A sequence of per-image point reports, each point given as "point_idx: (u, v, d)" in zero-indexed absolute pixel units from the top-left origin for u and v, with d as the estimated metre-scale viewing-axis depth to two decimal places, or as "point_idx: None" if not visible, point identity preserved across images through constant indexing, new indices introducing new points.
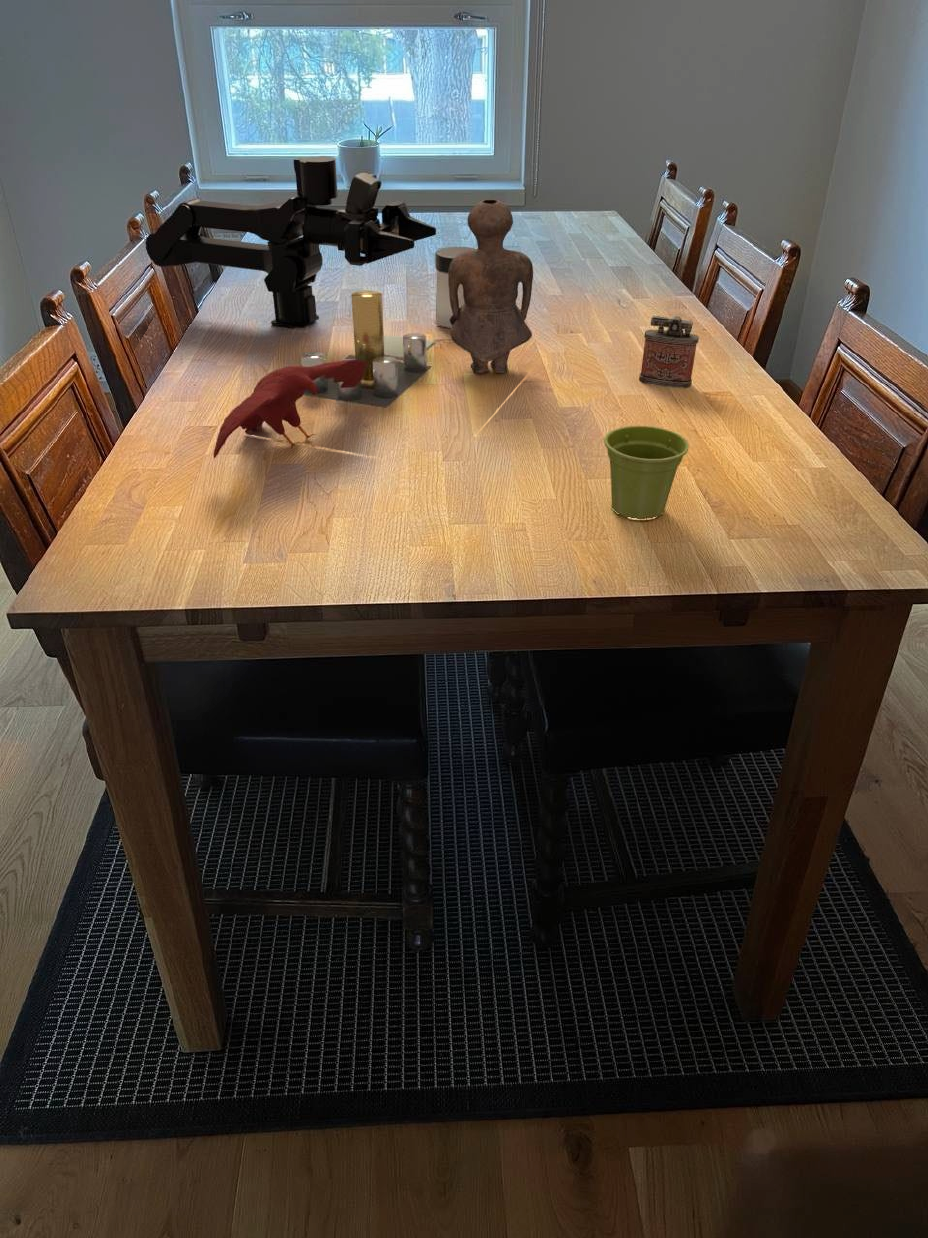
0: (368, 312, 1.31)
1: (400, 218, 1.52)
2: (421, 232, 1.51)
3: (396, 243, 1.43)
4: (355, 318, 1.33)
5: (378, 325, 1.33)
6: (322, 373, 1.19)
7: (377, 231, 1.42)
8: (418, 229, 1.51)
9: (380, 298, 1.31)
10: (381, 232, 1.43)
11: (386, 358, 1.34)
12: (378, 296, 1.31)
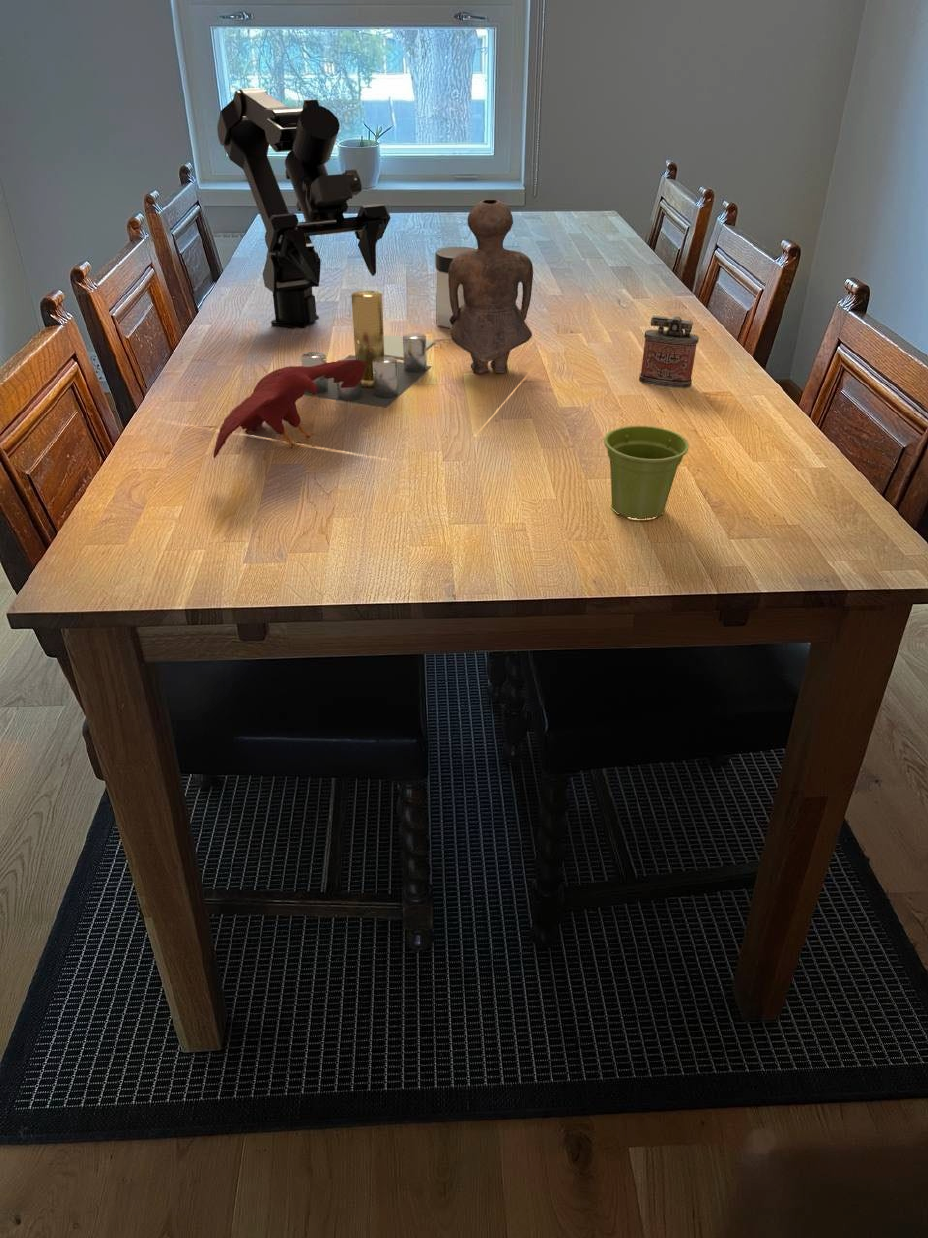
0: (368, 312, 1.31)
1: (365, 230, 1.39)
2: (367, 260, 1.40)
3: (306, 267, 1.36)
4: (355, 318, 1.33)
5: (378, 325, 1.33)
6: (322, 373, 1.19)
7: (297, 243, 1.34)
8: (367, 256, 1.40)
9: (380, 298, 1.31)
10: (301, 246, 1.34)
11: (386, 358, 1.34)
12: (378, 296, 1.31)
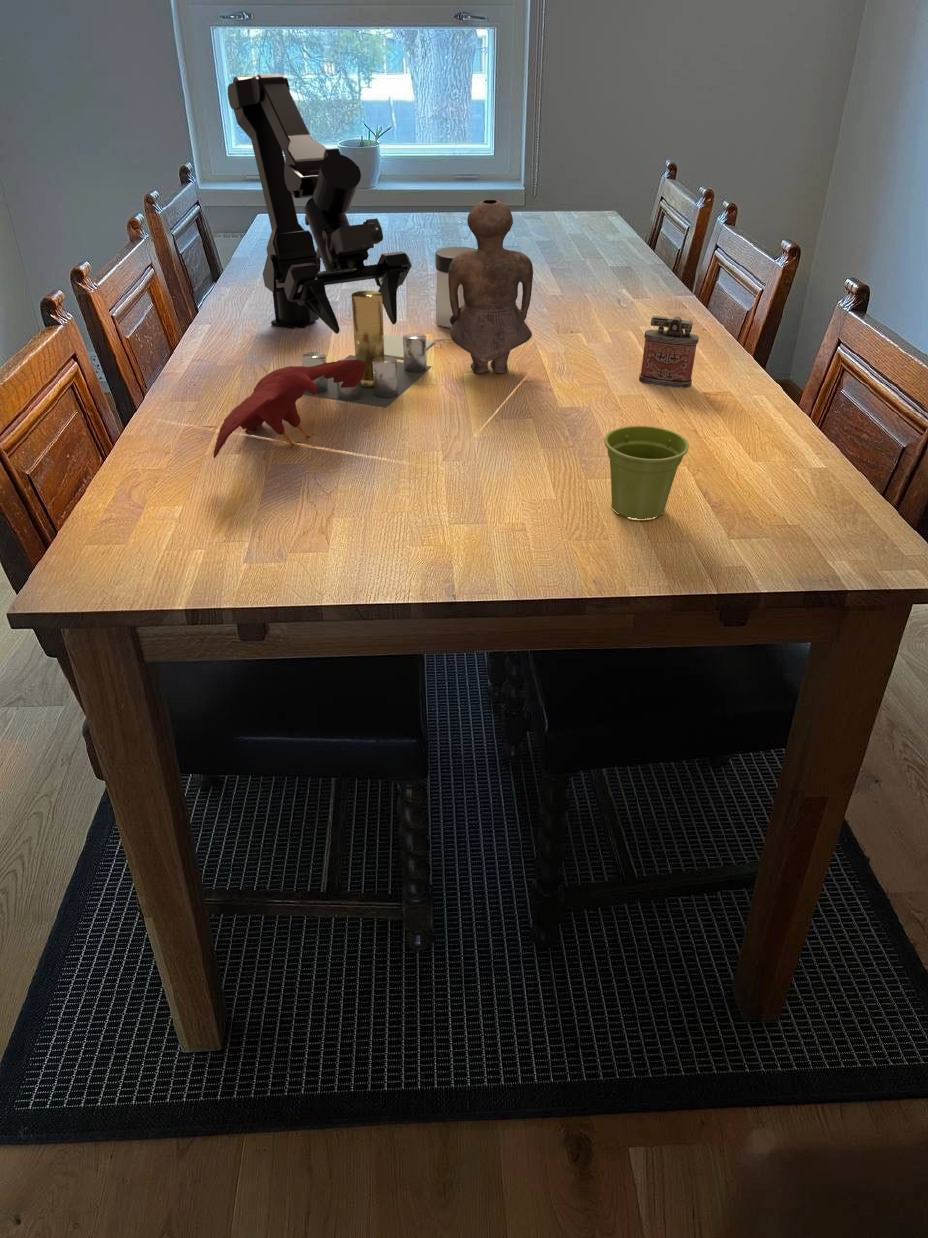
0: (368, 312, 1.31)
1: (385, 278, 1.37)
2: (388, 309, 1.38)
3: (326, 317, 1.33)
4: (355, 318, 1.33)
5: (378, 325, 1.33)
6: (322, 373, 1.19)
7: (317, 293, 1.32)
8: (388, 304, 1.37)
9: (380, 298, 1.32)
10: (321, 296, 1.32)
11: (386, 358, 1.34)
12: (378, 296, 1.31)
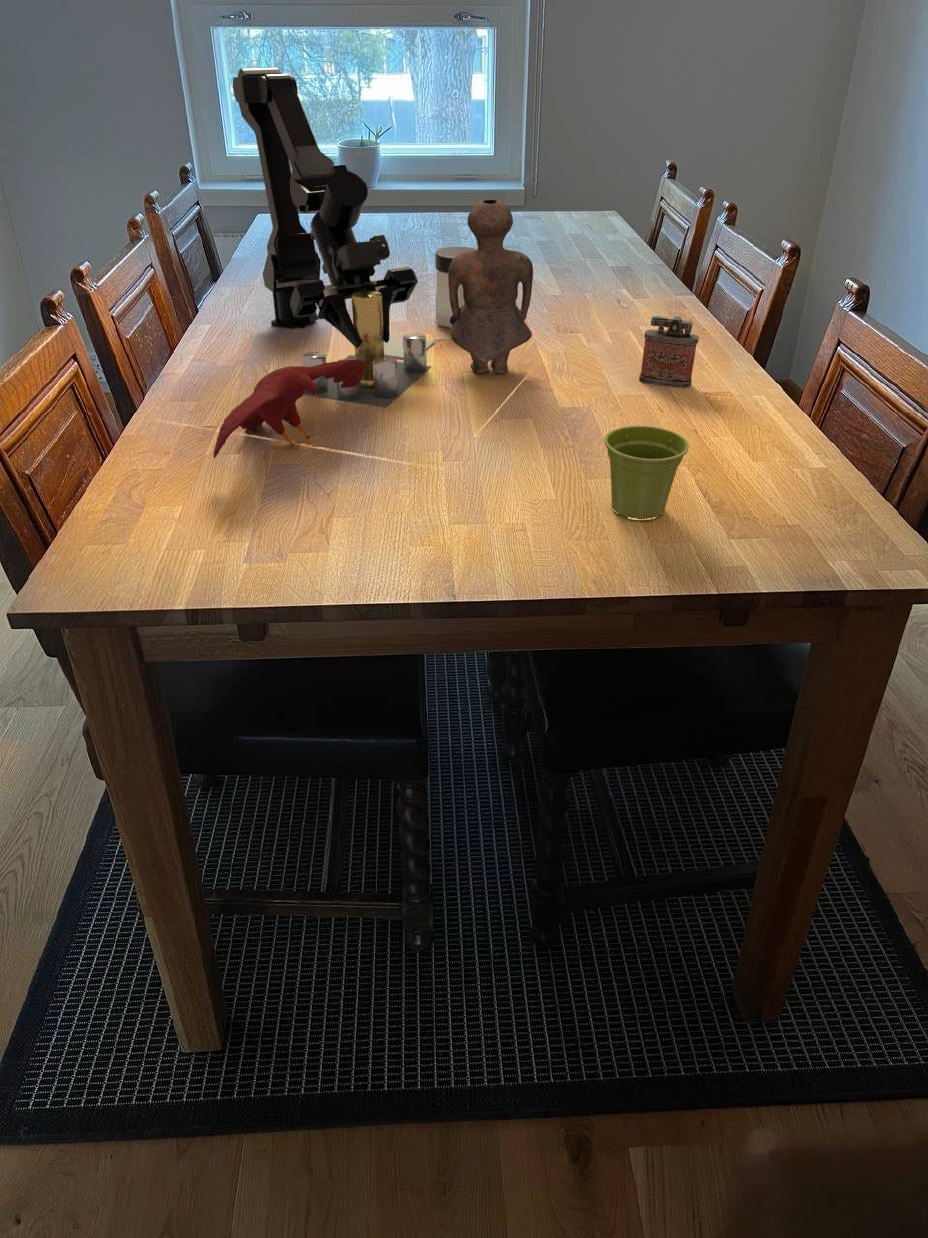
0: (368, 312, 1.31)
1: None
2: None
3: (346, 331, 1.34)
4: (355, 318, 1.33)
5: (378, 325, 1.33)
6: (322, 373, 1.19)
7: (338, 308, 1.32)
8: None
9: (380, 298, 1.31)
10: (342, 311, 1.33)
11: (386, 358, 1.34)
12: (378, 296, 1.31)
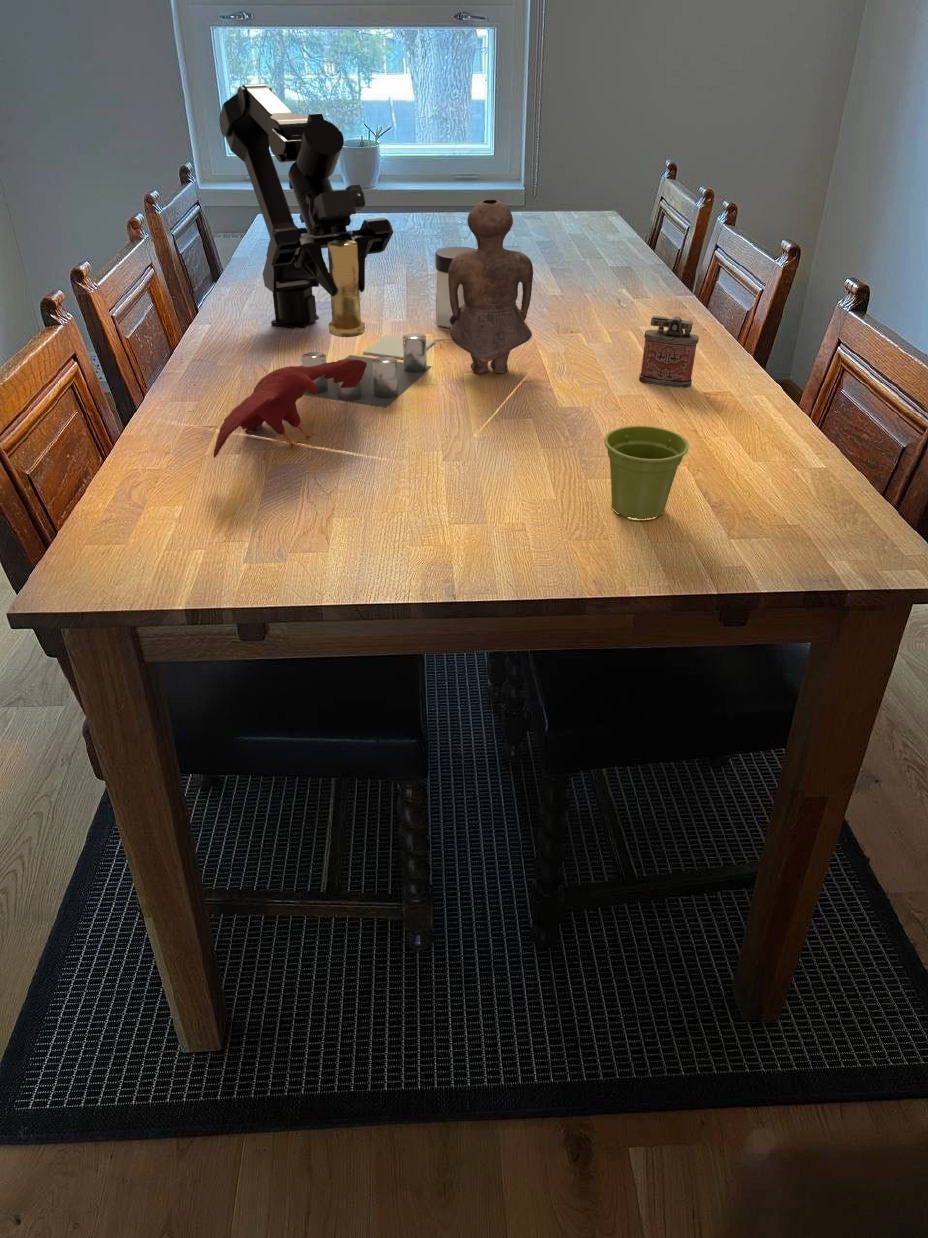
0: (344, 261, 1.34)
1: None
2: None
3: (322, 279, 1.37)
4: (331, 267, 1.35)
5: (353, 274, 1.36)
6: (322, 373, 1.19)
7: (314, 256, 1.35)
8: None
9: (355, 247, 1.34)
10: (318, 259, 1.36)
11: (386, 358, 1.34)
12: (353, 245, 1.34)
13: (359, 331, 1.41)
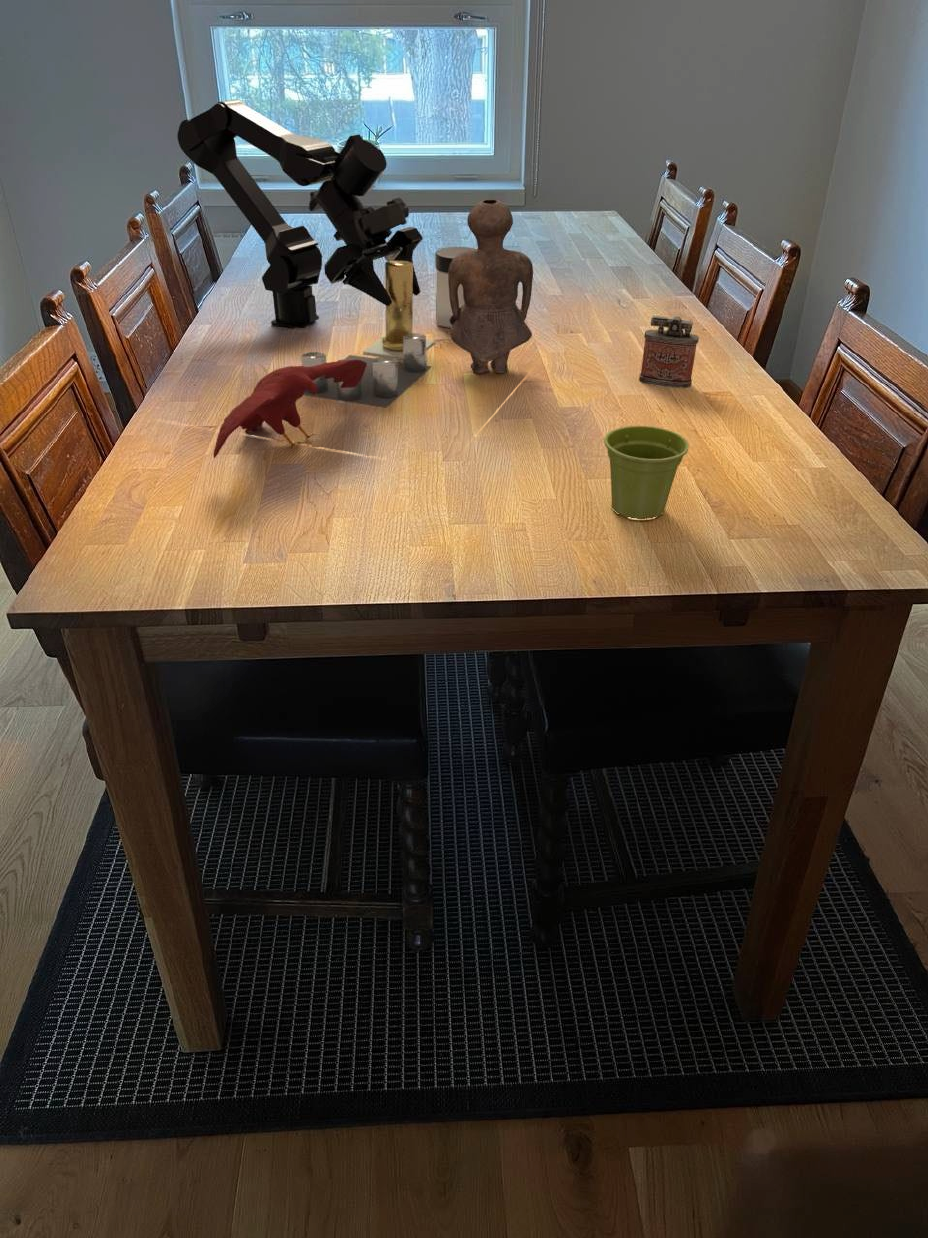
0: (406, 279, 1.44)
1: (401, 254, 1.48)
2: None
3: (376, 291, 1.43)
4: (392, 286, 1.45)
5: (411, 291, 1.46)
6: (322, 373, 1.19)
7: (368, 270, 1.41)
8: None
9: (412, 265, 1.45)
10: (371, 273, 1.42)
11: (386, 358, 1.34)
12: (410, 264, 1.45)
13: None
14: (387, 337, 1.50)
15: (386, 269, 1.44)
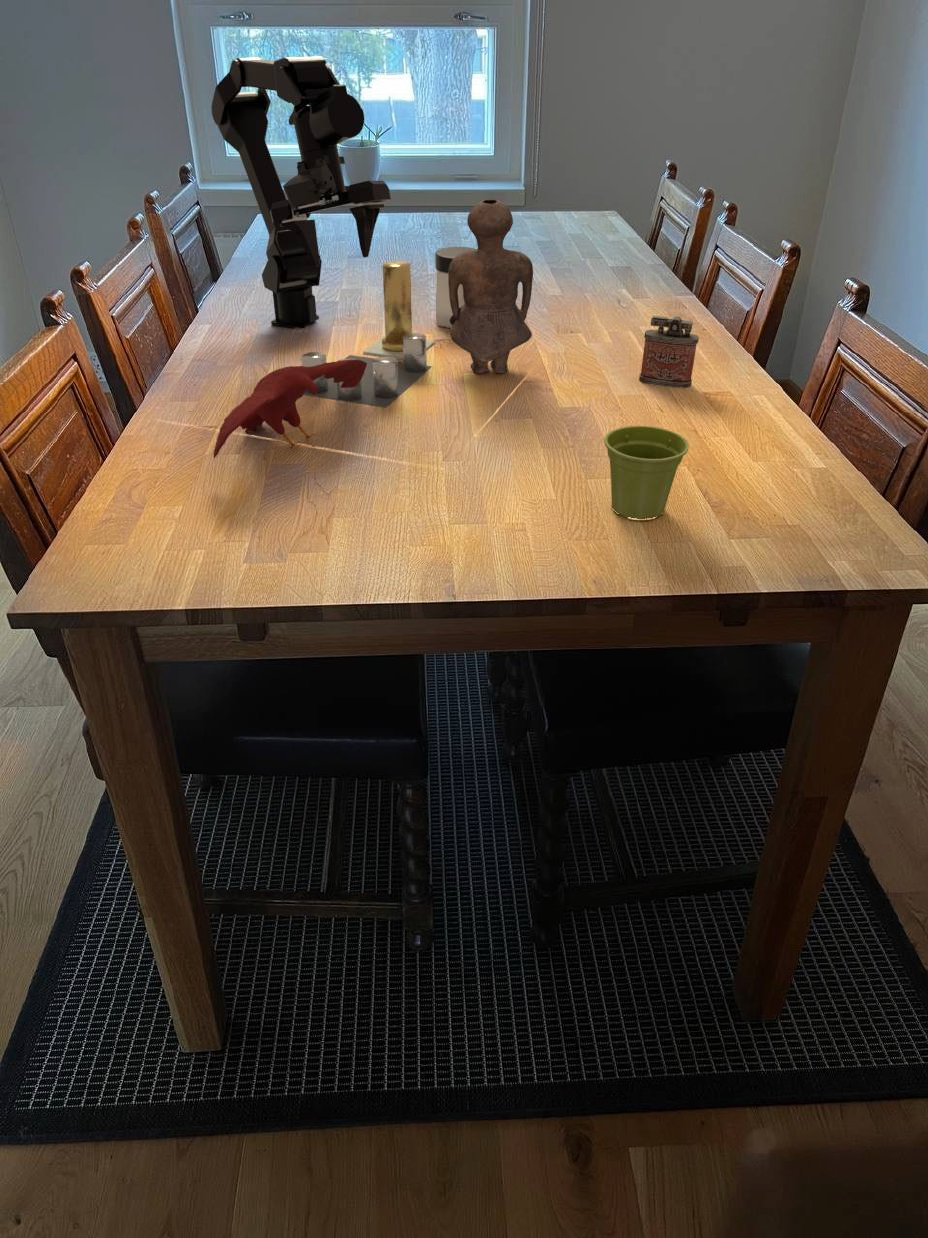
0: (404, 280, 1.44)
1: None
2: None
3: None
4: (390, 288, 1.44)
5: (410, 292, 1.46)
6: (322, 373, 1.19)
7: (294, 231, 1.43)
8: None
9: None
10: (298, 233, 1.43)
11: (386, 358, 1.34)
12: (408, 264, 1.44)
13: None
14: (387, 338, 1.50)
15: (383, 271, 1.44)
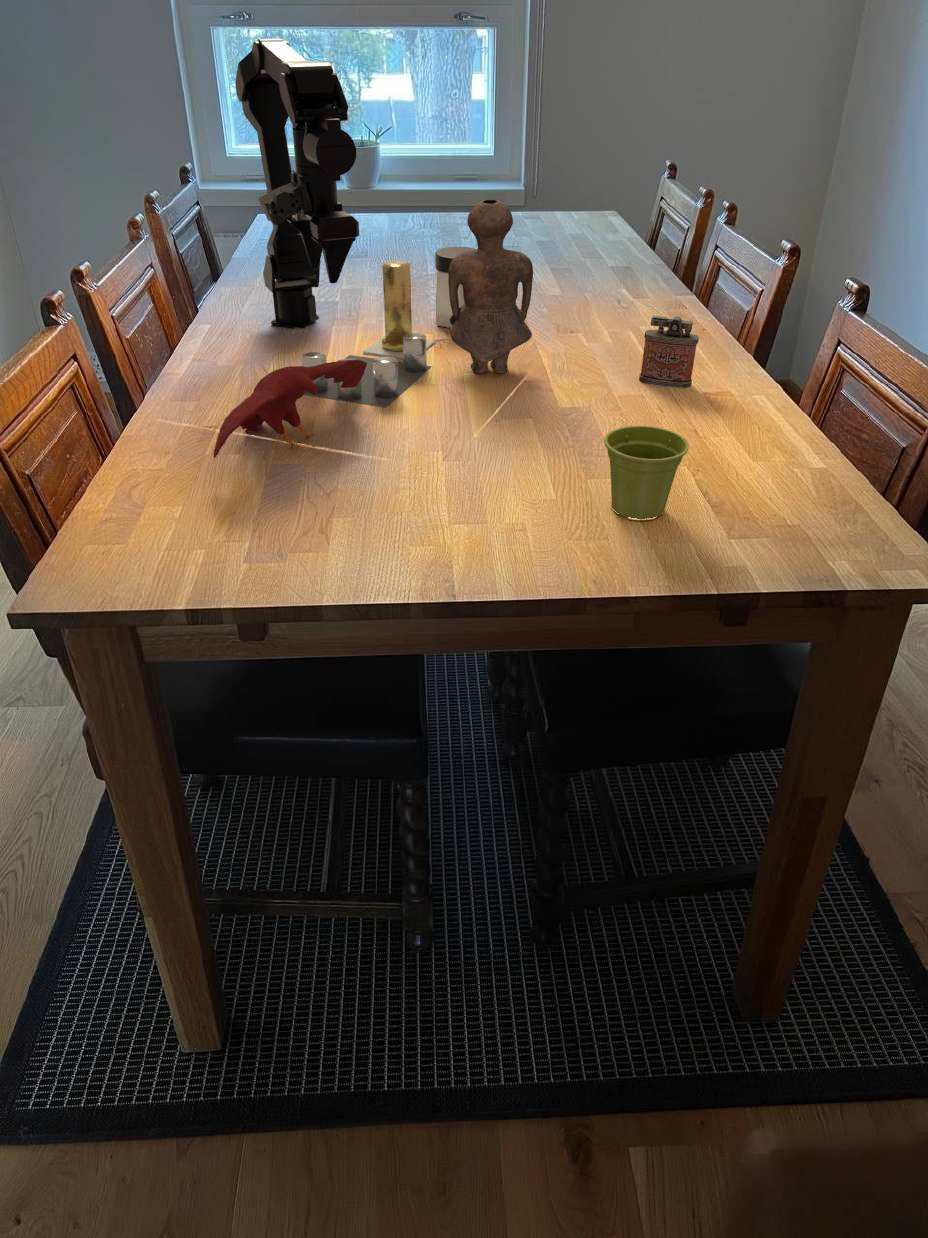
0: (403, 280, 1.44)
1: None
2: None
3: None
4: (390, 288, 1.44)
5: (409, 291, 1.46)
6: (322, 373, 1.19)
7: (298, 229, 1.42)
8: None
9: None
10: (301, 233, 1.42)
11: (386, 358, 1.34)
12: (408, 264, 1.44)
13: None
14: (387, 338, 1.50)
15: (383, 271, 1.44)
